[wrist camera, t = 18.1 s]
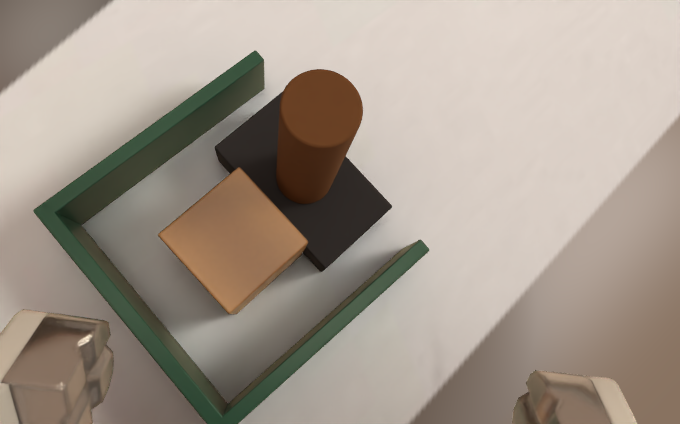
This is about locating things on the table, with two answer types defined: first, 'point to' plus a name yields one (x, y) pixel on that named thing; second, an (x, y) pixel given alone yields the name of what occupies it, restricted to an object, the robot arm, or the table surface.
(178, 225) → the cork block
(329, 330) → the frame
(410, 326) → the table surface
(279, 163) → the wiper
